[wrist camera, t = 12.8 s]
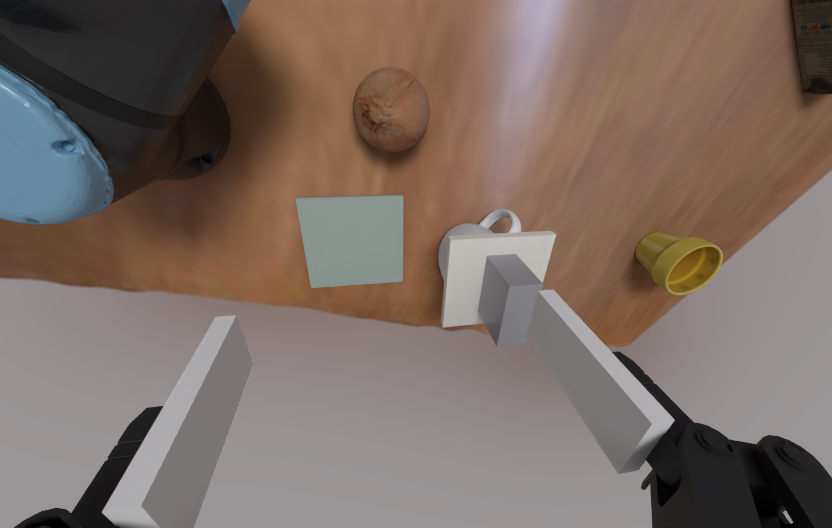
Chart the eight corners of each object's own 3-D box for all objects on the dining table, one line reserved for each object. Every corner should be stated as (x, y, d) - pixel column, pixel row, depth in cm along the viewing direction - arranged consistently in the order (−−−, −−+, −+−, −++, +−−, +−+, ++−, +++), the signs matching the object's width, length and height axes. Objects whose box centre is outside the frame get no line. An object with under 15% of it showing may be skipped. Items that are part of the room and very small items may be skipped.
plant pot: (626, 233, 60) (669, 258, 52) (678, 214, 60) (730, 236, 52) (624, 275, 66) (663, 303, 57) (671, 257, 65) (717, 283, 57)
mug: (473, 180, 50) (507, 209, 39) (518, 216, 54) (560, 251, 43) (417, 251, 55) (433, 295, 44) (463, 278, 59) (488, 324, 48)
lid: (440, 321, 46) (455, 364, 39) (448, 235, 39) (468, 269, 32) (528, 313, 48) (558, 353, 42) (551, 230, 41) (590, 261, 34)
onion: (361, 115, 45) (324, 126, 37) (393, 49, 40) (358, 45, 32) (413, 157, 46) (388, 176, 38) (452, 98, 41) (432, 106, 33)
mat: (311, 286, 55) (311, 288, 54) (296, 197, 47) (295, 198, 46) (402, 280, 57) (402, 281, 57) (402, 194, 49) (403, 195, 49)
